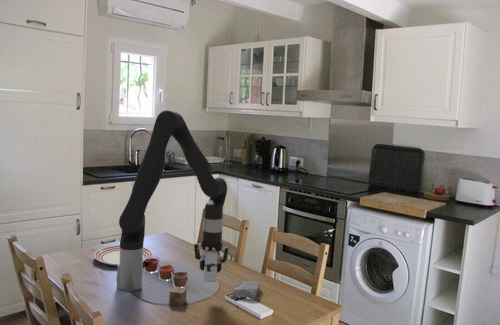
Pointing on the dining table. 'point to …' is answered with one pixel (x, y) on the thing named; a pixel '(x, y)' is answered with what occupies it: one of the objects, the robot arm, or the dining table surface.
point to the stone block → (247, 289)
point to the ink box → (210, 266)
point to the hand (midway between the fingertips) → (210, 270)
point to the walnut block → (177, 296)
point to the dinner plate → (116, 255)
